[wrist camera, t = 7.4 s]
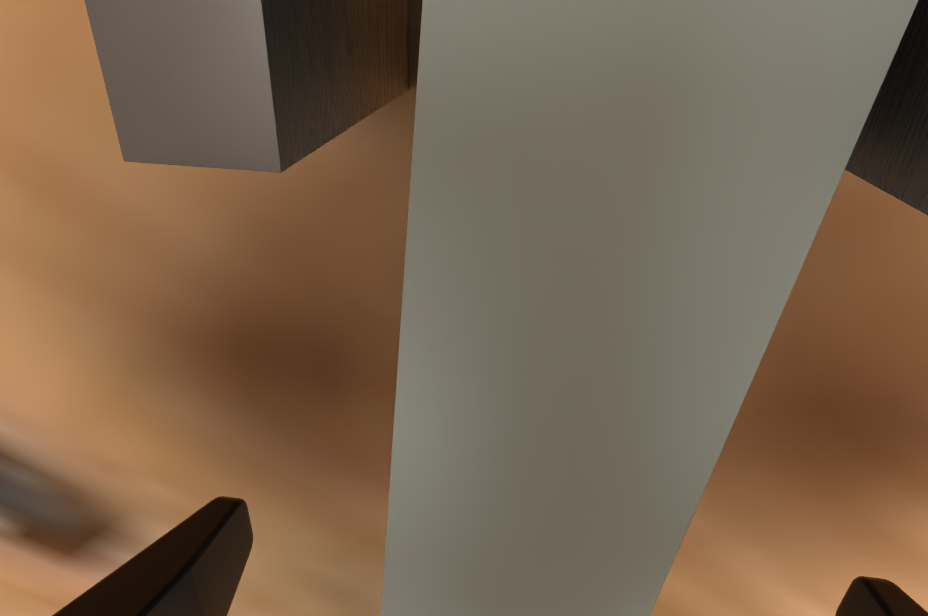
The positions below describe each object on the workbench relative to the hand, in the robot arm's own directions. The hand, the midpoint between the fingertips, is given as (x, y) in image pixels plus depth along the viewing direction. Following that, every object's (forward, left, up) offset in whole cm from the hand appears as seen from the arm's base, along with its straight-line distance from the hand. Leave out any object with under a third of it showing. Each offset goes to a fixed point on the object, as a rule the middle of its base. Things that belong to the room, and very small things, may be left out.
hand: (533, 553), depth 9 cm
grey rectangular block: (+2, 0, -5) cm, 5 cm away
